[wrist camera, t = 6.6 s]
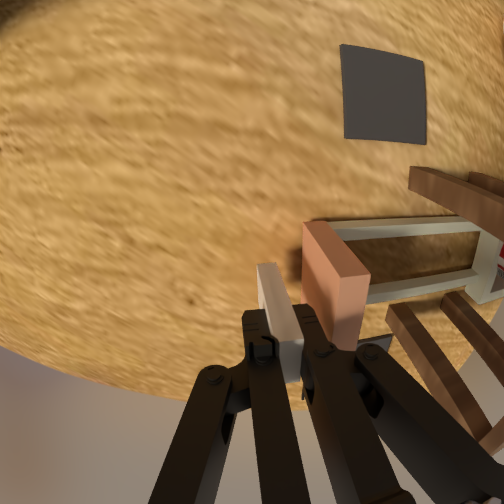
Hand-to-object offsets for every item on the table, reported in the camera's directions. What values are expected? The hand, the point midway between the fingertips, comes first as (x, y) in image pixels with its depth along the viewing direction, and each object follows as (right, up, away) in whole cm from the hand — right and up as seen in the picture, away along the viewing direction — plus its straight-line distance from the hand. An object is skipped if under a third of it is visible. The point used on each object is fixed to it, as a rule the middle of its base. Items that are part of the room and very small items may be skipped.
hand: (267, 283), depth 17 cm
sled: (+15, +2, +2) cm, 15 cm away
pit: (+7, +12, -3) cm, 14 cm away
